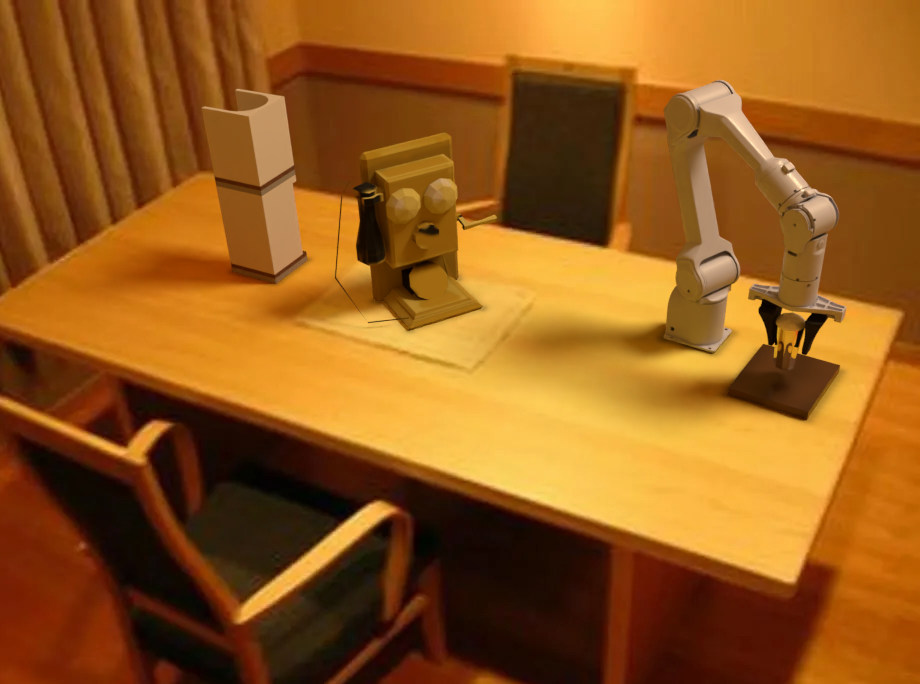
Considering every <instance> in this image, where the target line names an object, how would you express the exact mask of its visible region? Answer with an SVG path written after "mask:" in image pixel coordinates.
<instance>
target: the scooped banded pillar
mask: <svg viewBox="0 0 920 684" xmlns="http://www.w3.org/2000/svg"><path fill="white" fill-rule="evenodd" d="M234 94H235V99H236V106H237V110H236V111H235V110H227V109H223V108H216V107H212V106H202V107H201V114H202V119H203V123H204V129H205V134H206V139H207V144H208V149H209V150H208V151H209V155H210V162H211V166H212V172H213V177H214V181H215V188H216V193H217V198H218V204H219V209H220V214H221V219H222V225H223V229H224V235H225V240H226V245H227V251H228V257H229V262H230V266H231V272H232V273H235V274H238V275H242V276H245V277H250V278H253V279H257V280H261V281H265V282H267V283H272V284H275V285H277V284H278V283H280V282H281V281H282V280H283V279H285V278H286V277H288V276H289V275H290V274H291V273H293V272H294V271H296V269H298V268H299V267H300V266H302V265H303V264H305V263H306V262H308V253H307V251H306V250H303V246H302V238H301V231H300V224H299V217H298V210H297V203H296V196H295V189H294V183H296V182H297V176H296V169H295V162H294V155H293V148H292V142H291V141H292V140H291V135H290V128H289V127H290V126H289V120H288V113H287V106H286V99H285V95H284V96H283V95H278V94H272V93H266V92H260V91H254V90H248V89H242V88H236V89H234Z"/></svg>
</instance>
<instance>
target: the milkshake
mask: <svg viewBox="0 0 920 684" xmlns="http://www.w3.org/2000/svg"><path fill="white" fill-rule="evenodd" d="M805 321H806V319H805V318H804V317H803V316H802V315H800V314H798V313H796V312H783V313H781V315H780V316H778V317H777V318H776V327H775V343H774V346H773V347H774V360H773V364H774V365H775V367H777V368H779V369H782V370H789V369H792V368H793V367H794V365H795V362H796V358H797V354H799V351H800V346H801V343H802V339H803V337H804V334H805Z"/></svg>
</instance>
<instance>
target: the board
mask: <svg viewBox="0 0 920 684" xmlns="http://www.w3.org/2000/svg"><path fill="white" fill-rule="evenodd" d="M773 360H774V346H773V345H772V346H771V345H768V344H766V343H762V344H761V346H760V347H759V348H758V349H757V350H756V352H755V353H754V354H753V355H752V357H751V358H750V360H748V362H747V364H746V365H744V366H743V369H742V370H741V371H740V372H739V373H738V375H737V376H736V377H735V379H734V380H733V381H732V382H731V384H730V385H729V386H728V387H727V396H729V397H732V398H735V399H738V400H741V401H746V402H748V403H751V404H754V405H759V406H761V407H764V408H768V409H771V410H774V411H777V412H781V413H784V414H787V415H790V416H794V417H797V418H800V419H804V420H808V419H809V418H810V416H811V414H812V413H813V411H814V410H815V409H816V407H817V405H818V404H819V403H820V401H821V400H822V398H823V397H824V396H825V394H826V392H827V391H828V389H829V388H830V386H831V385H832V383H833V382H834V380H835V379H836V377H838V375H839V373H840V370H841V369H840V368H841V364H837V363H834V362H831V361H827V360H823V359H821V358H820V359H819V358H816V357H812V356H809V355H803V354H802V353H798V354H797V358H796V362H795V365H794V367H793V368H792V369H789V370H782V369H779V368H777V367H775V365H774V364H773Z"/></svg>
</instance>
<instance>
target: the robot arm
mask: <svg viewBox="0 0 920 684" xmlns="http://www.w3.org/2000/svg"><path fill="white" fill-rule="evenodd" d="M742 107H743V100H742V97H741V96H740V95H739V94H738V93H737V92H736V91H735V89H734V87H733V85H731V84H730V83H729V82H728V81H727V80H723V79H717V80H714V81H712V82H710V83H707V84H705V85H701V86H699V87H696V88H693V89H691V90H688V91H685V92H678V93H676V94H674V95H673V96H672V97H671V98H670V99H669V100H668V102H667V103H666V104H665V107H664V108H663V115H664V120H665V126H666V131H667V132H666V133H667V134H666V139H667V144H668V145H667V147H668V153H669V157H670V162H671V167H672V173H673V179H674V184H675V190H676V194H677V201H678V205H679V211H680V216H681V222H682V227H683V234H684V239H685V243H684V245H683V246H682V247H681V249H680V251H679V252H678V254H677V255H676V257H675V264H676V265H675V266H676V272H675V284H676V286H674V288H673V289H672V291H671V293H670V295H669V297H668V302H667V308H666V319H665V333H664V334H663V335H662V336H663V339H664V340H667V341H670V342H674V343H677V344H680V345H684V346H687V347H692V348H694V349H697V350H701V351H705V352H709V353H713V354H714V353H715V352H717V350H718V349H719V348H720V347H721V346H722V344H723V343H724V342H725V341H726V340H727V338H728V337H729V336H730V335H731V334H732V332H733V330H732V329H731V328H728V327H725V323H726V315H727V314H726V313H727V305H728V298H729V297H728V296H729V292H731V291H732V285H733V284H735V283H737V282H738V281H739V279H740V276H741V266H740V265H741V264H740V262H739V260H738V258H737V257H736V255H735V252H734V249H733V244H732V242H731V241H729V240H727V239H725V238H723V237H722V236H720V233H719V232H720V230H719V226H718V221H717V214H716V209H715V202H714V197H713V191H712V186H711V180H710V179H711V178H710V175H709V168H708V163H707V158H706V157H707V156H706V152H705V151H706V150H705V145H704V144H705V142H706V141H707V140H708V138H720V139H722V140H723V141H724V142H726V144H728V146H729V147H730V148H731V149H732V150H733V151H734V152H735V153H736V154H737V155H738V156H739V157H740V158H741V159H742V160H743V161H744V162H745V164H747V166H748V167H750V168H751V169H752V170H753V171H754V177H755V178H754V185H755V186H756V188H757V189H758V190H759V191H760V193H761V194H762V195H763V196H764V198H765V199H766V200H767V201H768V202H769V204H770V205H771V206H772V207H773V209H774V210H775V211H776V212H777V213H778V214H779V216H780V217H779V227H780V230H781V232H782V234H783V241H782V244H783V245H784V250H783V256H782V257H783V258H782V263H781V271H780V277H779V278H780V279H779V284H778V285H765V284H758V283H753V284H752V285H751V286H750V287H749V289H748V296H747V299H748V300H750V301H756V300H758V301H761V303H760V305H759V307H758V308H757V309H758V311H757V312H758V315H759V316H760V318H761V320H762V322H763V325H764V328H765V332H766V337H767V345H770V346H773V345H775V327H776V318H777V317H778V316H780V315H781V314H782V312H783V309H784V310H787V311H789V312H794V313H808V314H810V315H809V316H808V317H807V318H806V319H805V330H804V336H803V337H804V338H803V343H802V347H801V354H802V355H806V356H808V353H809V352H810V351H811V349H812V346H813V343H814V340H815V339H816V336H817V334H818V333H819V331H820V330H821V328H822V327H823V326H824V324H825V323H826V322H827V320H828V319H833V321H834V322H835V323H840V324H841V323H842V321H843V320H845V317H846V312H847V307H848V306H846V305H842V304H839V303H837V302H834V301H832V300H830V299H828V298H826V297H824V296H822V295H820V294H819V288H820V282H821V277H822V270H823V264H824V259H825V252H826V249H827V248H826V247H827V243H828V236H829V233H828V232H830V231H831V230H833V229H834V228H836V227H837V225H838V223H839V219H840V211H839V208H838V206H837V203H836V202H835V200H834V199H833V197H832V196H830V195H829V194H827V193H825V192H821V191H819V190H817V189H816V188H812V187H811V186H810V185H809V184H808V182H807V181H806V180H805V179H804V177H802V175H801V174H800V173H799V172H798V170H797V169H796V167H795V165H794V164H793V163H792V162H791V161H790V160H788V158H783V157H776V156H774V154H773V153H772V151H771V150H770V149H769V148H768V146H767V144H766V143H765V142H764V140H763V139H762V138H761V136H760V135H759V133H758V132H757V131H756V129H755V128H754V126H753V125H752V123H751V122H750V121H749V119H748V117H746V115H745V114H744V112H743V110H742V109H743V108H742Z"/></svg>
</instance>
